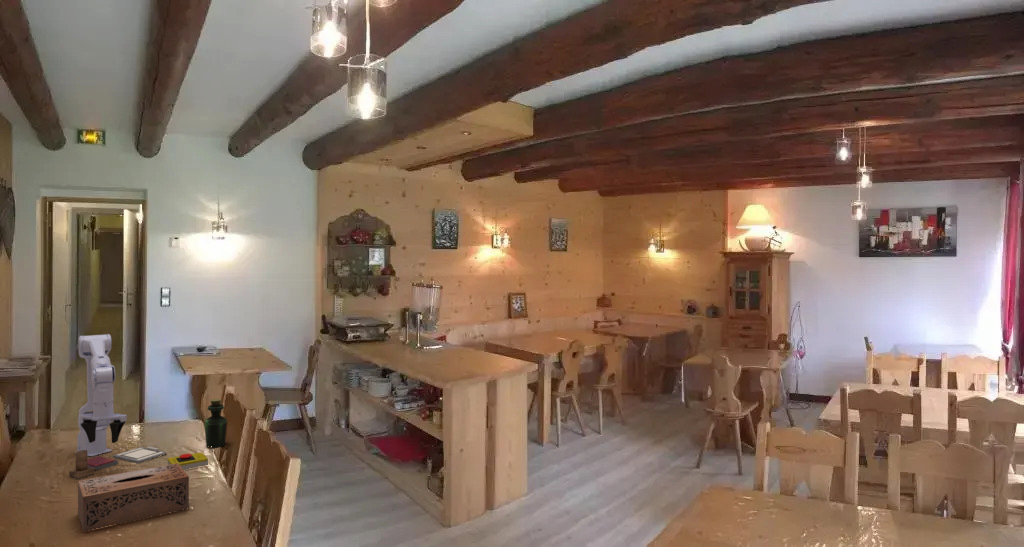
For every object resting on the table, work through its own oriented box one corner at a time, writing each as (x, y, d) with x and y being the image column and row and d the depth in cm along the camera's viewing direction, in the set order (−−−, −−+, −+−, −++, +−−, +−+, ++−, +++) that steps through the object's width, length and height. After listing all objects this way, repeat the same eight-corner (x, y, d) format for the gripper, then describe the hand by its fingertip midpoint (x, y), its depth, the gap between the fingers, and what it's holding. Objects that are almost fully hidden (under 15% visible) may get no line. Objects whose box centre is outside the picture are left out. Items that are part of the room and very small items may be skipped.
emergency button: (162, 455, 220) (208, 447, 230) (162, 467, 220) (208, 459, 230) (167, 462, 213) (215, 454, 222) (167, 475, 213) (215, 466, 222)
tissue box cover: (177, 494, 196) (177, 463, 196) (188, 510, 185) (188, 476, 184) (78, 515, 180) (77, 481, 179) (83, 533, 169) (82, 496, 168)
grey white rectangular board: (112, 457, 228) (112, 453, 228) (141, 449, 238) (141, 444, 238) (138, 463, 222) (138, 459, 222) (166, 454, 232) (166, 450, 232)
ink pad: (76, 466, 218) (76, 462, 218) (99, 459, 226) (99, 455, 226) (94, 470, 214) (94, 466, 214) (117, 463, 222) (117, 459, 222)
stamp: (69, 477, 208) (68, 452, 208) (84, 472, 213) (84, 448, 212) (78, 479, 206) (78, 455, 206) (94, 475, 211) (94, 450, 210)
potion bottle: (202, 449, 239) (202, 402, 238) (206, 443, 247) (206, 397, 246) (225, 448, 241) (225, 401, 240) (228, 442, 249) (228, 397, 248)
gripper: (73, 404, 208) (73, 445, 209) (117, 405, 209) (117, 445, 209) (87, 399, 216) (87, 439, 216) (130, 400, 216) (130, 439, 216)
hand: (103, 442), depth 213 cm, fingers open, 7 cm apart
